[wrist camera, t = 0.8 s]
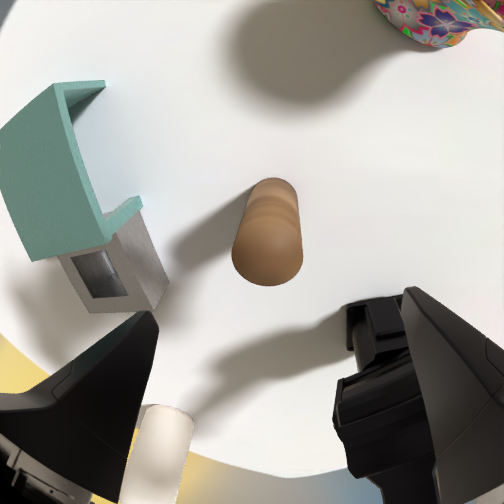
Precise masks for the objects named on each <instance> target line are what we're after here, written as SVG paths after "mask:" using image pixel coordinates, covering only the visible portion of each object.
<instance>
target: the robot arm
mask: <svg viewBox="0 0 504 504" xmlns="http://www.w3.org/2000/svg"><path fill="white" fill-rule="evenodd" d="M350 309H352V310H350ZM158 335H159V326H158V324H157V322H156V320H155V318H154V316H153V315H152V313H151V312H150V311H149V310H141V311H139V312H137V313H136V314H134V315H133V316H132V317H130V318H129V319H128V320H126V321H125V322H123V323H122V324H121V325H119V326H118V327H117V328H115V329H114V330H113V331H111V332H110V333H108V334H107V335H106V336H104V337H103V338H102V339H100V340H99V341H98V342H96V343H95V344H94V345H92V346H91V347H90V348H88V349H87V350H86V351H84V352H83V353H82V354H80V355H79V356H77V357H76V358H75V359H74V360H72V361H71V362H69V363H68V364H67V365H65V366H64V367H63V368H61V369H60V370H59V371H57V372H56V373H54V374H53V375H51V376H50V377H48V378H47V379H45V380H44V381H42V382H41V383H39V384H37V385H36V386H34V387H33V388H31V389H30V390H28V391H26V392H24V393H19V394H9V393H0V504H95V503H93V502H91V498H92V495H93V493H94V494H96V495H98V496H100V497H102V498H105V499H107V500H109V501H111V502H114V503H116V504H118V500H119V496H120V491H121V486H122V481H123V477H124V472H125V467H126V463H127V457H128V454H129V449H130V446H131V442H132V437H133V433H134V430H135V426H136V422H137V418H138V414H139V411H140V407H141V403H142V400H143V396H144V393H145V389H146V386H147V382H148V379H149V375H150V372H151V369H152V365H153V360H154V355H155V350H156V345H157V340H158ZM346 347H347V350H348V351H355V357H356V363H357V368H358V373H356V374H354V375H351V376H349V377H347V378H342V379H339V380H338V383H337V389H336V397H335V404H334V411H333V417H332V421H333V423H334V425H333V426H334V429H335V430H336V432H337V435H338V437H339V439H340V440H341V441H342V442H343V444H344V448H345V452H346V458H347V465H348V470H349V471H350V472H351V474H352V475H353V476H354V477H355V478H356V479H359V478H363V477H366V478H367V479H369V480H370V481H371V482H372V483H373V484H375V485H376V486H377V487H378V488H380V490H381V494H382V498H383V504H464V503H466V502H468V501H471V500H473V499H475V498H476V504H504V350H503V349H502V348H501V347H499V346H498V345H497V344H495V343H494V342H493V341H491V340H490V339H489V338H486V336H485V335H484V334H482V333H481V332H480V331H478V330H477V329H476V328H474V327H473V326H472V325H470V324H469V323H468V322H466V321H465V320H463V319H462V318H461V317H459V316H458V315H457V314H455V313H454V312H452V311H451V310H450V309H448V308H447V307H445V306H444V305H443V304H441V303H440V302H438V301H437V300H436V299H434V298H433V297H431V296H430V295H428V294H427V293H425V292H424V291H422V290H421V289H420V288H418V287H416V286H413V287H407V288H405V289H404V293H403V295H400V296H394V297H389V298H383V299H377V300H371V301H365V302H359V303H353V304H349V305H348V306H347V307H346Z"/></svg>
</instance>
